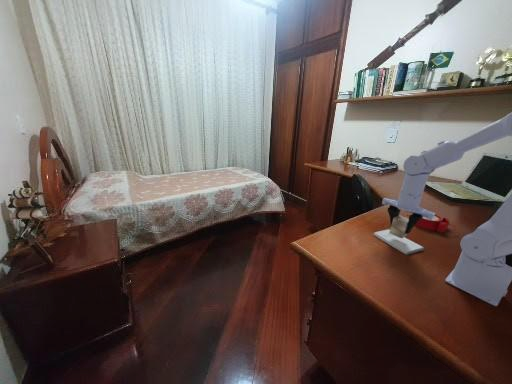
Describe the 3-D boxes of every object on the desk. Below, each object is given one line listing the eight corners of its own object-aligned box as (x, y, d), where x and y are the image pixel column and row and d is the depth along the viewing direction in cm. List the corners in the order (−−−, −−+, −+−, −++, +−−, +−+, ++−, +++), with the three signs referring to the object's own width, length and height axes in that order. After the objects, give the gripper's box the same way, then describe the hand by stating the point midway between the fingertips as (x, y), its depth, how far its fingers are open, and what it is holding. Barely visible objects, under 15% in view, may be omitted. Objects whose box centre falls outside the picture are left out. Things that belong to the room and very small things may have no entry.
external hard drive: (405, 256, 66) (372, 236, 77) (422, 251, 68) (388, 232, 79) (407, 252, 65) (373, 232, 76) (424, 247, 68) (389, 228, 79)
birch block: (407, 235, 71) (412, 219, 69) (401, 238, 69) (406, 222, 67) (394, 230, 74) (398, 215, 72) (389, 233, 72) (393, 217, 70)
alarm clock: (412, 208, 92) (459, 212, 81) (411, 221, 93) (458, 227, 82) (405, 214, 85) (455, 220, 74) (405, 228, 86) (454, 236, 75)
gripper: (381, 188, 70) (372, 224, 74) (434, 203, 59) (419, 243, 63) (391, 185, 74) (382, 219, 78) (442, 198, 62) (428, 237, 67)
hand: (399, 229), depth 71 cm, fingers closed on birch block, 4 cm apart
